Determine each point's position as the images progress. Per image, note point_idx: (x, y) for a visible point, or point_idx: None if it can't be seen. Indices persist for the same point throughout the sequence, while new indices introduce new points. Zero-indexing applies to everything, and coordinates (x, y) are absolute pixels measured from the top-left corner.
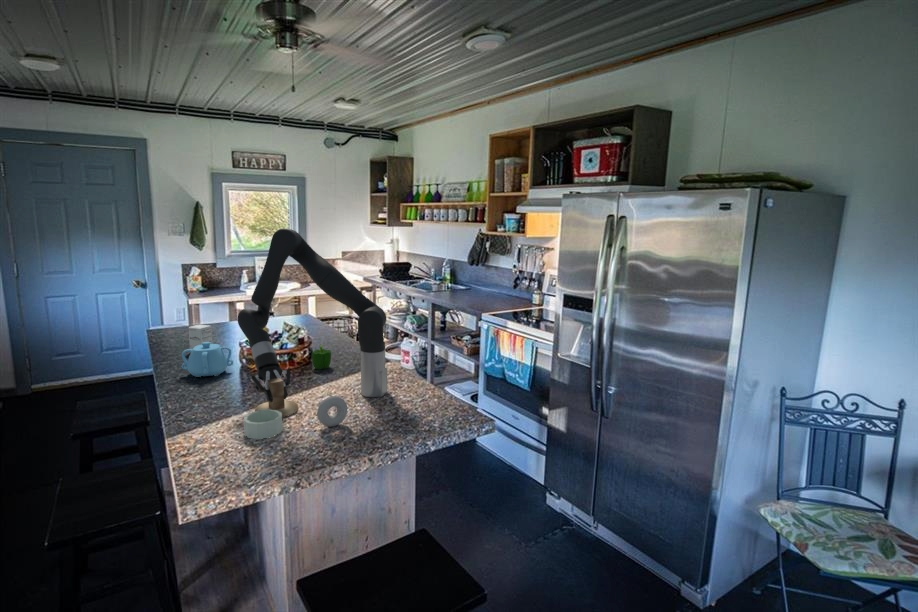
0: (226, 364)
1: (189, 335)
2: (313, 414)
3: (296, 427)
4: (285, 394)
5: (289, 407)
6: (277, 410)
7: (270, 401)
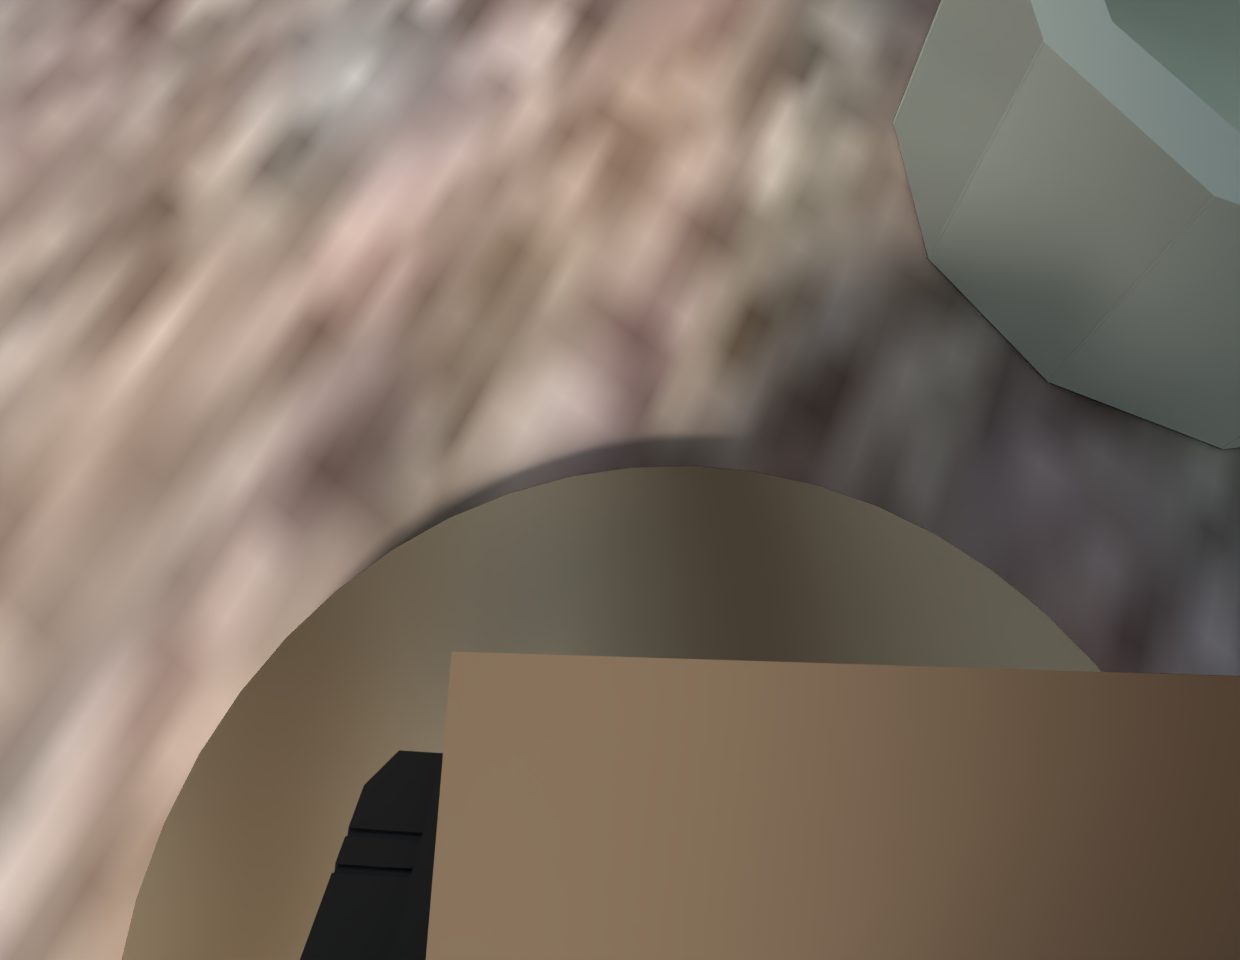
0: None
1: None
2: (186, 274)
3: (702, 5)
4: None
5: None
6: (1036, 23)
7: None
